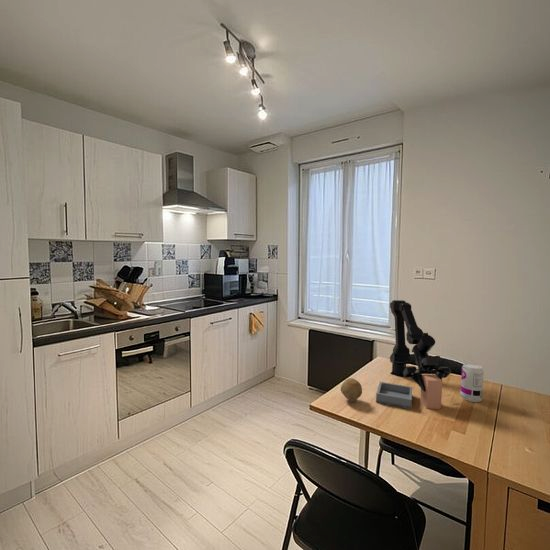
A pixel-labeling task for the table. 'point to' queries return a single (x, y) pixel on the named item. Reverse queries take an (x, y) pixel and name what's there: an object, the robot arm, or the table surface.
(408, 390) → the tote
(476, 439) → the table surface
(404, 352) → the robot arm
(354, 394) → the natural sponge
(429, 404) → the carton
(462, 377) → the supplement can
